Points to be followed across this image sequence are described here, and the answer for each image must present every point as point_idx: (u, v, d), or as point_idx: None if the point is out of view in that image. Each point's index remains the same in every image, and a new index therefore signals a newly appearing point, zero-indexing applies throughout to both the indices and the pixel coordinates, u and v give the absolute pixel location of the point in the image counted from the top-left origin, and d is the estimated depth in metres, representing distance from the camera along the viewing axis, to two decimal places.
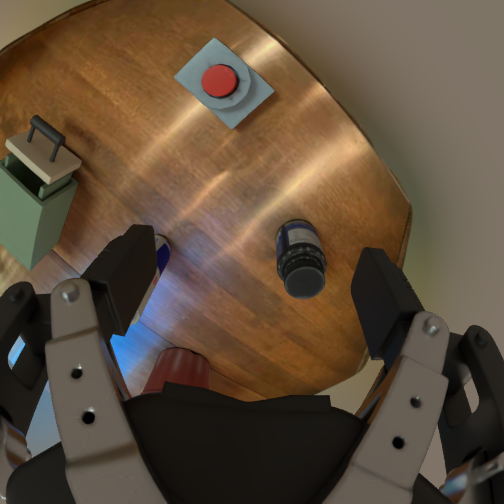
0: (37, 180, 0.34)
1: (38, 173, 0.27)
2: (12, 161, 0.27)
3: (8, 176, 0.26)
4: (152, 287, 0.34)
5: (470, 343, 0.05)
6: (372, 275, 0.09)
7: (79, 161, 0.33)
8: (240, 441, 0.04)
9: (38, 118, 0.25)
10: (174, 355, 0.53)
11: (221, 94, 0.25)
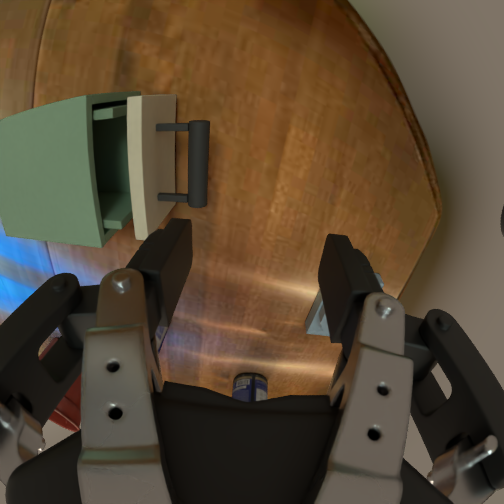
0: (101, 143, 0.23)
1: (137, 213, 0.20)
2: None
3: (86, 148, 0.16)
4: None
5: (429, 326, 0.06)
6: (333, 260, 0.09)
7: (174, 203, 0.27)
8: (240, 441, 0.04)
9: (207, 135, 0.19)
10: None
11: None
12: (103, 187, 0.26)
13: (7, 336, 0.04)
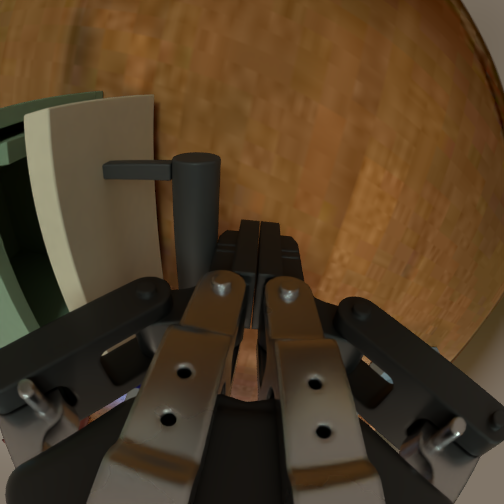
0: None
1: None
2: None
3: None
4: None
5: (339, 314, 0.06)
6: (259, 246, 0.10)
7: None
8: (240, 441, 0.04)
9: (216, 191, 0.09)
10: None
11: None
12: None
13: (70, 329, 0.05)
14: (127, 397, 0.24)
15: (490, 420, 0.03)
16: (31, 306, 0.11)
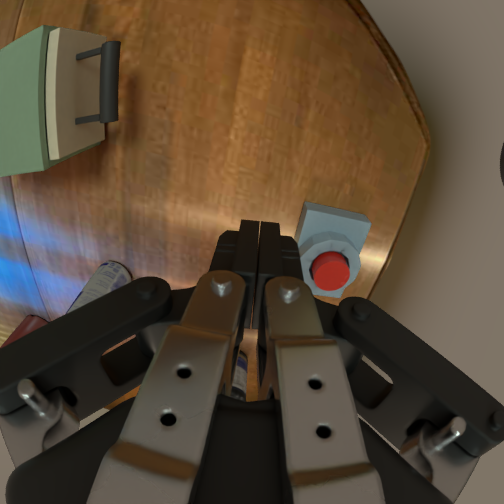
0: (44, 91, 0.19)
1: (50, 132, 0.16)
2: None
3: (37, 69, 0.12)
4: None
5: (339, 314, 0.06)
6: (259, 246, 0.10)
7: (102, 138, 0.23)
8: (240, 441, 0.04)
9: (116, 52, 0.15)
10: None
11: (319, 286, 0.26)
12: None
13: (70, 329, 0.05)
14: (93, 274, 0.30)
15: (490, 420, 0.03)
16: None
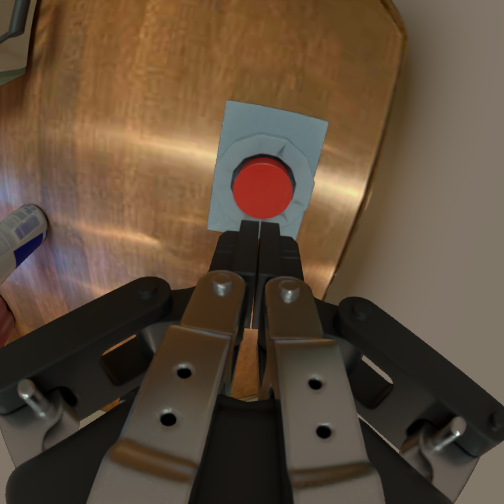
0: None
1: None
2: None
3: None
4: None
5: (339, 314, 0.06)
6: (259, 246, 0.10)
7: (23, 64, 0.14)
8: (240, 441, 0.04)
9: None
10: None
11: (243, 210, 0.17)
12: None
13: (70, 329, 0.05)
14: None
15: (490, 420, 0.03)
16: None
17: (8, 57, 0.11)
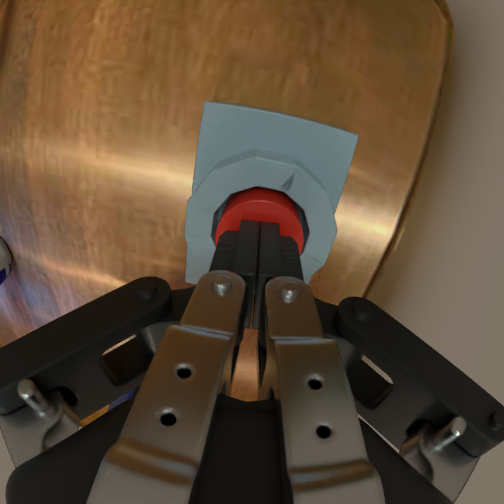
0: None
1: None
2: None
3: None
4: None
5: (339, 314, 0.06)
6: (259, 246, 0.10)
7: None
8: (240, 441, 0.04)
9: None
10: None
11: None
12: None
13: (70, 329, 0.05)
14: None
15: (490, 420, 0.03)
16: None
17: None
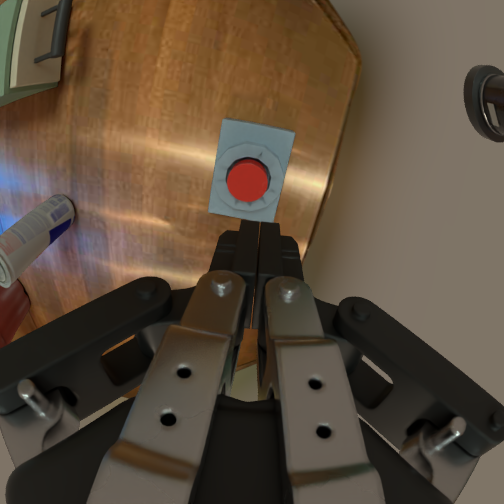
0: None
1: (13, 66, 0.13)
2: None
3: (11, 22, 0.10)
4: (33, 260, 0.24)
5: (339, 314, 0.06)
6: (259, 246, 0.10)
7: (57, 79, 0.21)
8: (240, 441, 0.04)
9: (68, 6, 0.13)
10: None
11: (234, 195, 0.24)
12: None
13: (70, 329, 0.05)
14: None
15: (490, 420, 0.03)
16: None
17: (46, 72, 0.18)
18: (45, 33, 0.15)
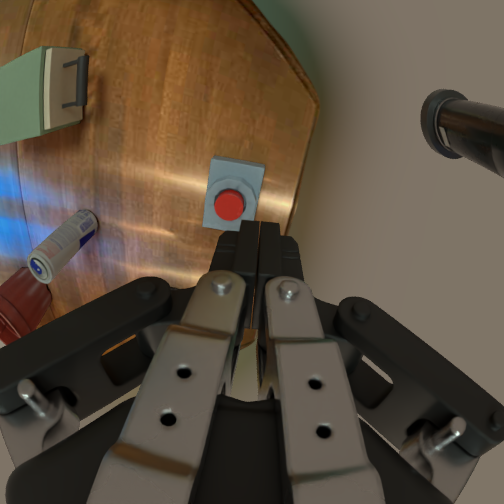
0: (43, 87, 0.27)
1: (45, 112, 0.24)
2: None
3: (39, 74, 0.20)
4: (67, 262, 0.34)
5: (339, 314, 0.06)
6: (259, 246, 0.10)
7: (80, 118, 0.31)
8: (240, 441, 0.04)
9: (86, 62, 0.23)
10: (34, 280, 0.47)
11: (220, 216, 0.34)
12: None
13: (70, 329, 0.05)
14: None
15: (490, 420, 0.03)
16: None
17: (71, 114, 0.28)
18: (68, 81, 0.25)
